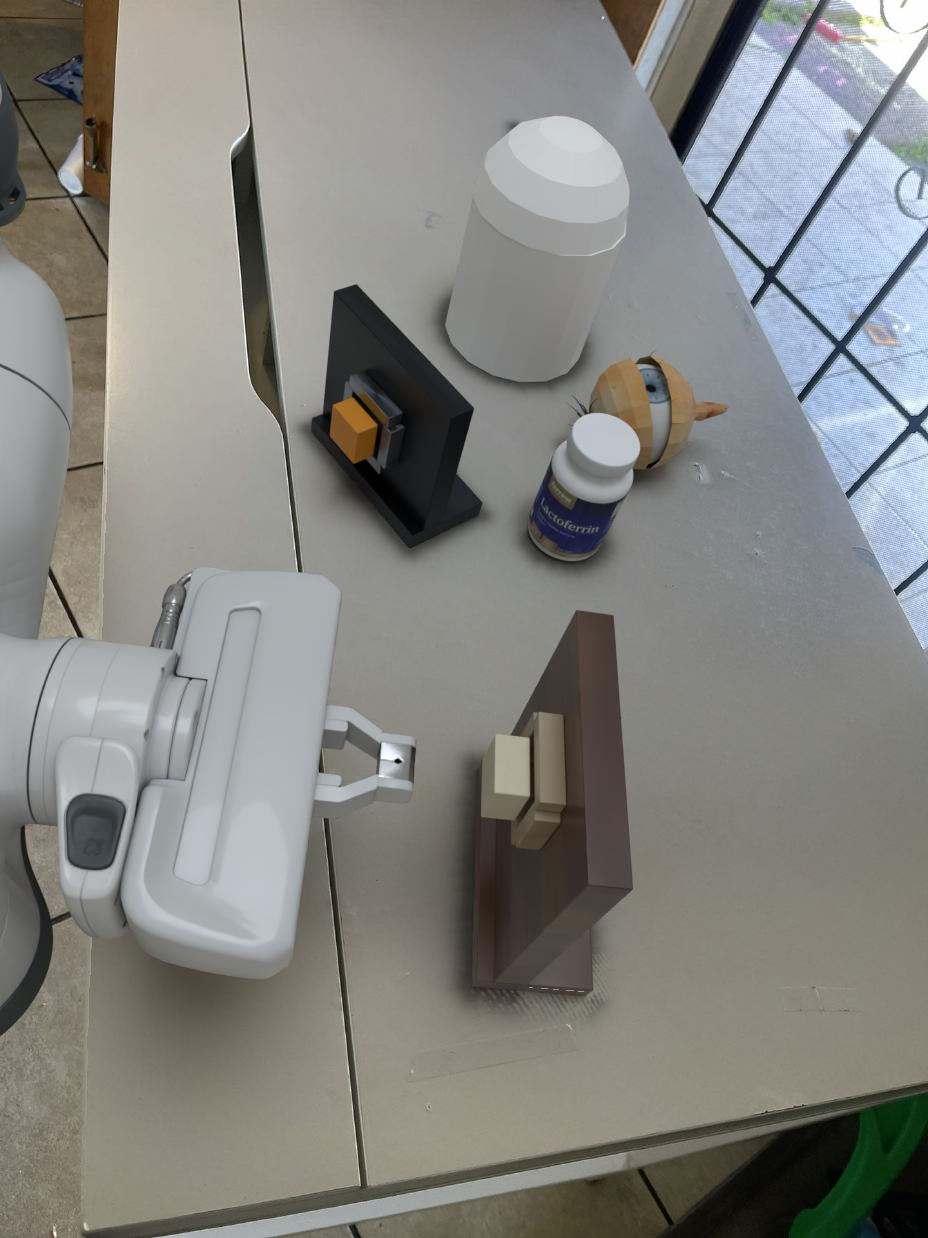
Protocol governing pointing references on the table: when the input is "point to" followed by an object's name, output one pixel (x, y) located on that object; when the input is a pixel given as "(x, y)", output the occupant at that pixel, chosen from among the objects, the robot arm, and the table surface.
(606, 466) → the pill bottle
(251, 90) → the table surface
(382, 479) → the black button panel
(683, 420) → the sculpture
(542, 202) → the container
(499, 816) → the button near
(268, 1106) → the table surface
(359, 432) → the button far
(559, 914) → the brown button panel
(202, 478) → the table surface
